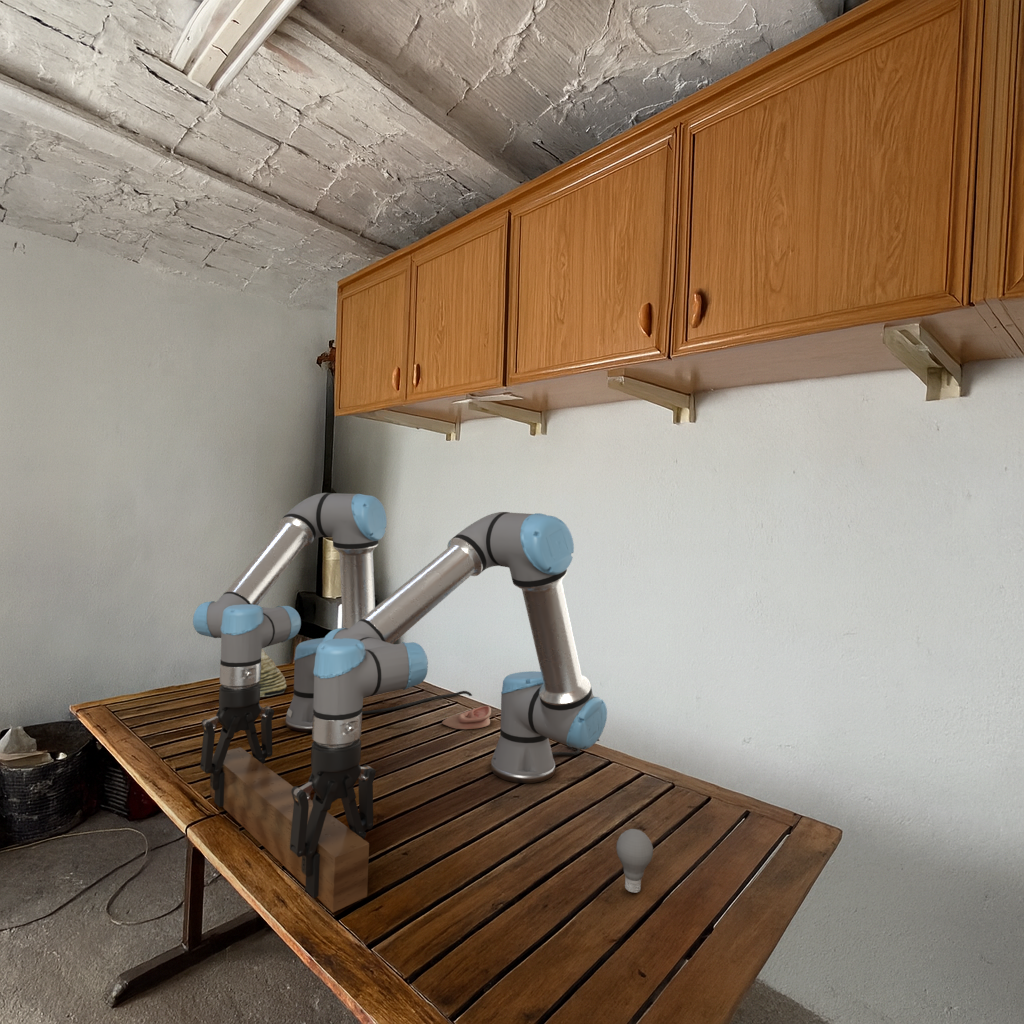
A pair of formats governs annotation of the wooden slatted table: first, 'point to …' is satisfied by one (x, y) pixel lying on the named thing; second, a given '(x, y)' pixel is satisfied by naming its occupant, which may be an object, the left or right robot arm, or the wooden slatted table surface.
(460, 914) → the wooden slatted table surface
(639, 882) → the light bulb
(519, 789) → the wooden slatted table surface
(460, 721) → the anatomical model
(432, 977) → the wooden slatted table surface
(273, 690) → the fossil
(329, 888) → the bar
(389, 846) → the wooden slatted table surface
